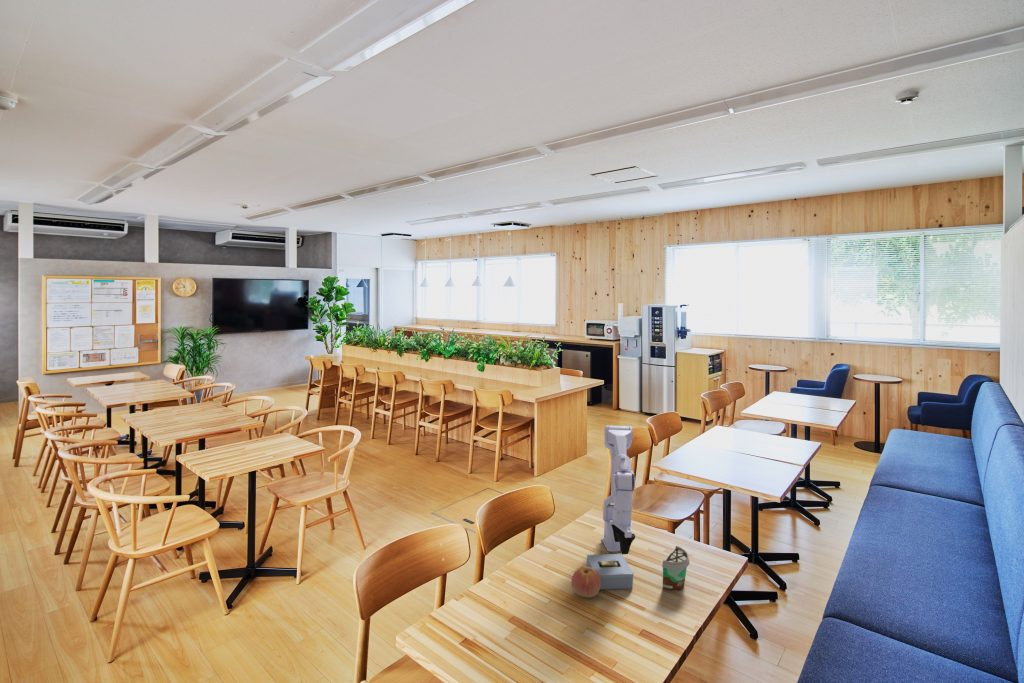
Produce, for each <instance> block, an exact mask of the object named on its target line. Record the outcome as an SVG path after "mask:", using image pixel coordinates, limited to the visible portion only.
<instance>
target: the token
mask: <svg viewBox="0 0 1024 683" xmlns="http://www.w3.org/2000/svg"><path fill="white" fill-rule="evenodd" d="M617 566H618V564H617V562H616V561H604V562H601V568H603V567H617Z"/></svg>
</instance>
